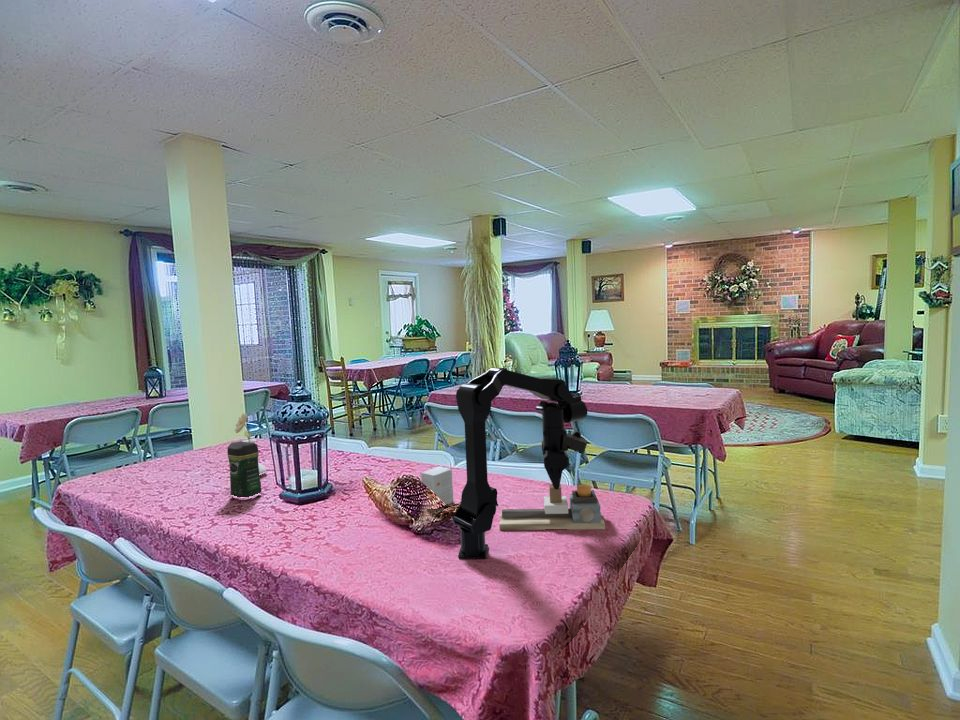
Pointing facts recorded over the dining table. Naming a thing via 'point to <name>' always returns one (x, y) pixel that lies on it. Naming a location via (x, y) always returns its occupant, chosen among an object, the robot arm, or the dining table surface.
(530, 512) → the rail base
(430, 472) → the small box
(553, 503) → the carriage
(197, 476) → the dining table surface
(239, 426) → the flower in vase
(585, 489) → the button
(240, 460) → the coffee jar
